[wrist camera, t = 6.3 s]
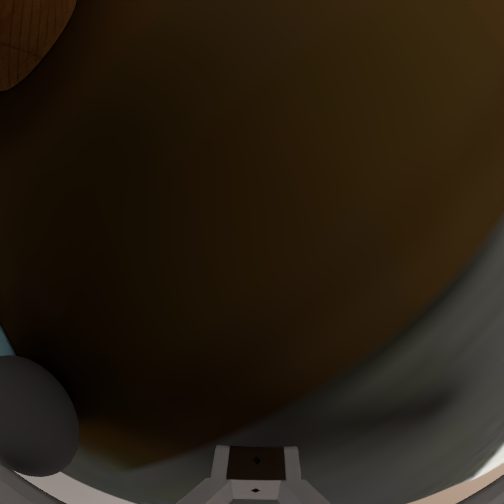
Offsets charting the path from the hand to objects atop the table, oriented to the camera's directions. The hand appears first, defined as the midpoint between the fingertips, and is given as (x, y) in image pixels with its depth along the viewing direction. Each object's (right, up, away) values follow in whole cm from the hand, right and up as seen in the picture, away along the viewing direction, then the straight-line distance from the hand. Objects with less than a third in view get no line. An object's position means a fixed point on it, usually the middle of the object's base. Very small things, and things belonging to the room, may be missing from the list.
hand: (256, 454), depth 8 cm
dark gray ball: (-11, 0, -1) cm, 11 cm away
